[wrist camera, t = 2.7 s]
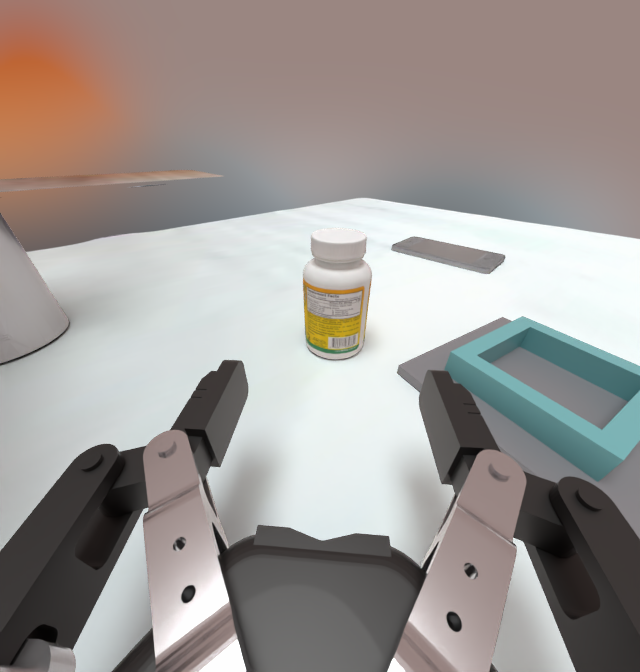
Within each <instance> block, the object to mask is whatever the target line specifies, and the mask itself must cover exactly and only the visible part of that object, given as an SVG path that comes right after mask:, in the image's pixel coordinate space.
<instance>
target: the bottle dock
mask: <svg viewBox="0 0 640 672" xmlns="http://www.w3.org/2000/svg"><path fill="white" fill-rule="evenodd" d="M427 370H446V371H448V372H449V374H450V376H451V378H452V380H453V382H454V383H459V384H462V385H463V386H464V387H465V388H466V389H467V390H468V391H469V392H470V393H471V395H472V397H473V399H474V401H475V403H476V406H477V407H478V409H479V410H480V412H481V415H482V416H483V418H484V420H485V422H486V424H487V426H488V428H489V430H490V432H491V434H492V436H493V438H494V440H495V442H496V443H497V445H498V447H499V449H500V451H501V452H502V453H504V454H506V455H507V456H509V457H511V458H512V459H513V460H514V461H515V462H516V463H517V464H518V465H519V466H520V467H521V468H522V470H523V471H525V472H527V473H529V474H532V475H535V476H538V477H541V478H544V479H547V480H549V481H552V482H555V483H558V482H559V480H561V479H562V478H564V477H568V476H571V477H577V478H581V479H583V480H586V481H588V482H590V483H592V484H593V485H595V486H597V487H598V488H599V489H601V490H602V491H603V492H604V493H605V494H607V495H608V496H609V497H610V499H611V500H612V501H613V502H614V503H615V505H616V506H617V508H618V509H619V510H620V512H621V513H622V515H623V516H624V517H625V519H626V520H627V522H628V523H629V525H630V526H631V527H632V529H633V530H634V532H635V533H636V535H637V536H638V537H639V539H640V366H638V365H636V364H633V363H631V362H629V361H626V360H624V359H622V358H619V357H617V356H615V355H612V354H610V353H608V352H605V351H603V350H601V349H598V348H596V347H594V346H591V345H589V344H587V343H584V342H582V341H580V340H577V339H575V338H573V337H570V336H568V335H565V334H563V333H561V332H558V331H556V330H554V329H551V328H549V327H547V326H544V325H542V324H540V323H537V322H535V321H533V320H530V319H528V318H526V317H523V316H522V317H520V318H518V319H516V320H514V321H510V320H508V319H506V318H504V317H502V318H500V319H497V320H495V321H493V322H491V323H489V324H487V325H485V326H482V327H480V328H478V329H476V330H474V331H472V332H469V333H467V334H465V335H463V336H461V337H459V338H457V339H454V340H452V341H450V342H448V343H446V344H444V345H442V346H439V347H437V348H435V349H433V350H431V351H429V352H426V353H424V354H422V355H420V356H418V357H416V358H414V359H411V360H409V361H407V362H405V363H403V364H401V365H399V367H398V371H397V373H398V374H399V375H400V376H401V377H403V378H404V379H405V380H406V381H407V382H409V383H410V384H411V385H412V386H413V387H415V388H416V389H417V390H418V391H419V392H421V388H422V385H423V382H424V378H425V375H426V372H427Z"/></svg>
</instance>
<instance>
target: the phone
mask: <svg viewBox="0 0 640 672" xmlns="http://www.w3.org/2000/svg"><path fill="white" fill-rule="evenodd" d="M391 250H392V251H396V252H401V253H404V254H407V255H412V256H415V257H419V258H423V259H427V260H431V261H435V262H439V263H443V264H447V265H451V266H455V267H459V268H463V269H467V270H471V271H475V272H479V273H483V274H490V272H491V271H493V270H494V268H495V267H496V266H497V265H498V264H501V263H503V262H504V259H505V255H502V254H498V253H493V252H488V251H483V250H478V249H473V248H469V247H464V246H459V245H454V244H449V243H444V242H439V241H435V240H430V239H425V238H420V237H410V238H408V239H406V240H403V241H401V242H398V243H396V244H393V245H392V249H391Z"/></svg>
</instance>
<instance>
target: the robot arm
mask: <svg viewBox="0 0 640 672" xmlns="http://www.w3.org/2000/svg"><path fill="white" fill-rule="evenodd" d="M68 324H69V320H68V318H67V316H66V315H65V313H64V311H63V310H62V308H61V307H60V305H59V304H58V302H57V301H56V299H55V297H54V296H53V294H52V293H51V291H50V290H49V288H48V286H47V285H46V283H45V281H44V280H43V278H42V277H41V275H40V274H39V272H38V271H37V269H36V267H35V266H34V264H33V263H32V261H31V260H30V258H29V257H28V255H27V253H26V252H25V250H24V249H23V247H22V246H21V244H20V243H19V241H18V239H17V238H16V236H15V235H14V233H13V232H12V230H11V229H10V227H9V225H8V224H7V222H6V221H5V219H4V218H3V216H2V215H1V213H0V363H3V362H6V361H9V360H12V359H15V358H17V357H20V356H23V355H25V354H27V353H30V352H32V351H34V350H36V349H38V348H40V347H42V346H44V345H46V344H48V343H49V342H51V341H52V340H54V339H55V338H57V337H58V336H59V335H60V334H61V333H63V332H64V331H65V329H66V328H67V327H68ZM247 396H248V383H247V378H246V374H245V369H244V365H243V362H242V361H237V360H224V361H223V362H222V363H221V365H220V367H219V369H218V370H217V371H211V372H210V373H208V374H207V375H206V376H205V377H204V378H202V379H201V381H200V383H199V384H198V386H197V387H196V391H194V392H193V394H192V396H191V399H189V400H188V402H187V404H186V405H185V407H184V408H183V410H182V412H181V413H180V415H179V417H178V418H177V420H176V421H175V423H174V425H173V426H172V428H171V429H170V430H169V431H166V432H163V433H161V434H159V435H158V436H156V437H155V438H154V439H152V440H151V441H150V442H149V444H148V445H147V446H144V447H139V448H135V449H131V450H126V451H122V452H119V451H118V449H117V448H116V447H115V446H114V445H111V444H101V445H97V446H95V447H92V448H90V449H88V450H86V451H85V452H83V453H82V454H80V455H79V456H78V457H77V458H76V459H75V460H74V461H73V462H72V463H71V464H70V466H69V467H68V468H67V469H66V471H65V472H64V473H63V474H62V475H61V477H60V478H59V479H58V480H57V482H56V483H55V484H54V485H53V487H52V488H51V489H50V490H49V492H48V493H47V494H46V495H45V497H44V498H43V499H42V500H41V502H40V503H39V504H38V505H37V507H36V508H35V509H34V510H33V512H32V513H31V514H30V515H29V516H28V518H27V519H26V520H25V521H24V523H23V524H22V525H21V526H20V528H19V529H18V530H17V531H16V533H15V534H14V535H13V536H12V538H11V539H10V540H9V541H8V543H7V544H6V545H5V546H4V548H3V549H2V550H1V551H0V672H75V668H76V660H75V655H74V653H73V651H72V650H73V648H74V646H75V644H76V642H77V640H78V638H79V636H80V634H81V632H82V630H83V628H84V626H85V624H86V622H87V620H88V618H89V616H90V614H91V612H92V610H93V608H94V606H95V604H96V602H97V600H98V598H99V596H100V594H101V592H102V590H103V588H104V586H105V584H106V582H107V580H108V578H109V576H110V574H111V572H112V570H113V568H114V566H115V564H116V562H117V560H118V558H119V556H120V554H121V552H122V550H123V548H124V546H125V544H126V542H127V540H128V538H129V536H130V534H131V532H132V530H133V528H134V526H135V524H136V522H137V520H138V519H139V517H140V515H141V513H142V511H143V509H145V508H148V507H149V509H148V512H147V513H145V514H144V517H143V528H144V539H145V550H146V561H147V572H148V583H149V594H150V604H151V615H152V626H153V628H152V629H151V630H150V631H149V632H148V633H147V634H146V635H145V636H144V637H143V638H142V639H141V640H140V642H139V643H138V644H137V645H136V646H135V647H134V648H133V649H132V650H131V651H130V652H129V653H128V655H127V656H126V657H125V658H124V659H123V660H122V661H121V662H120V663H119V664H118V665H117V666H116V667H115V669H114V670H113V671H112V672H498V671H497V670H496V669H495V667H494V666H493V664H492V663H491V662H492V658H493V653H494V649H495V645H496V640H497V636H498V632H499V627H500V623H501V619H502V614H503V610H504V606H505V601H506V597H507V593H508V588H509V584H510V580H511V575H512V571H513V567H514V562H515V558H516V551H517V549H516V545H515V544H514V543H513V537H514V538H516V539H519V540H521V541H523V542H524V544H525V546H526V549H527V551H528V554H529V556H530V559H531V561H532V564H533V566H534V569H535V571H536V574H537V576H538V579H539V581H540V584H541V586H542V589H543V591H544V593H545V596H546V598H547V601H548V603H549V606H550V608H551V611H552V613H553V616H554V618H555V621H556V623H557V626H558V628H559V631H560V633H561V636H562V638H563V641H564V643H565V645H566V648H567V650H568V653H569V655H570V658H571V660H572V663H573V665H574V668H575V670H576V672H640V539H639V537H638V536H637V535H636V533H635V532H634V530H633V529H632V527H631V526H630V525H629V523H628V522H627V520H626V519H625V517H624V516H623V515H622V513H621V512H620V510H619V509H618V508H617V506H616V505H615V503H614V502H613V501H612V500H611V499H610V497H609V496H608V495H607V494H605V493H604V492H603V491H602V490H601V489H599V488H598V487H597V486H595V485H593V484H592V483H590V482H588V481H586V480H583V479H581V478H577V477H571V476H568V477H564V478H562V479H561V480H559V482H558V483H555V482H552V481H549V480H547V479H544V478H541V477H538V476H535V475H532V474H529V473H527V472H525V471H523V470H522V468H521V467H520V466H519V465H518V464H517V463H516V462H515V461H514V460H513V459H512V458H511V457H509V456H507V455H506V454H504V453H502V452H501V451H500V449H499V447H498V445H497V443H496V442H495V440H494V438H493V436H492V434H491V432H490V430H489V428H488V426H487V424H486V422H485V420H484V418H483V416H482V415H481V412H480V410H479V409H478V407H477V406H476V403H475V401H474V399H473V397H472V395H471V393H470V392H469V391H468V390H467V389H466V388H465V387H464V386H463V385H462V384H459V383H454V382H453V380H452V378H451V376H450V374H449V372H448V371H446V370H427V372H426V375H425V378H424V382H423V385H422V388H421V392H420V396H419V407H420V411H421V414H422V418H423V421H424V425H425V428H426V432H427V435H428V438H429V442H430V445H431V449H432V452H433V456H434V459H435V463H436V466H437V470H438V473H439V476H440V480H441V483H442V484H449V485H453V489H454V492H455V494H454V496H453V498H452V500H451V502H450V505H449V507H448V509H447V511H446V513H445V516H444V518H443V520H442V522H441V525H440V527H439V529H438V531H437V533H436V536H435V538H434V540H433V542H432V544H431V546H430V548H429V550H428V552H427V554H426V556H425V558H424V560H423V562H422V564H421V567H420V566H419V565H418V564H417V563H415V562H414V561H413V560H412V559H411V558H410V557H408V556H407V555H405V554H404V553H402V552H401V551H399V550H397V549H395V548H393V547H391V546H390V540H389V536H381V535H369V534H357V533H356V534H351V535H347V536H342V537H338V538H334V539H329V540H325V541H321V540H318V539H315V538H313V537H310V536H308V535H306V534H303V533H301V532H298V531H296V530H294V529H291V528H287V527H275V526H263V525H258V527H257V531H256V535H252V536H249V537H247V538H244V539H242V540H240V541H238V542H236V543H235V544H233V545H232V546H230V547H229V544H228V541H227V538H226V536H225V533H224V530H223V528H222V525H221V522H220V519H219V516H218V513H217V509H216V506H215V503H214V499H213V496H212V493H211V489H210V486H209V483H208V479H207V477H206V475H207V473H208V471H209V468H210V466H212V467H220V466H221V463H222V461H223V458H224V456H225V453H226V451H227V448H228V446H229V443H230V440H231V438H232V435H233V433H234V430H235V428H236V425H237V423H238V420H239V417H240V415H241V412H242V410H243V407H244V405H245V402H246V399H247Z"/></svg>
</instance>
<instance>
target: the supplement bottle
mask: <svg viewBox="0 0 640 672" xmlns="http://www.w3.org/2000/svg"><path fill="white" fill-rule="evenodd" d="M366 240H367V237H366V235H365V234H364V233H363V232H360V231H357V230H353V229H346V228H327V229H321V230H317V231H315V232H313V233H312V235H311V252H312V255H313V256H314V257H315V258H313V259H311V260H310V261H309V262H308V263H307V264H306V266H305V267H304V271H303V291H304V312H305V335H306V343H307V346H308V348H309V349H310V350H311V351H312V352H313V353H315V354H316V355H318V356H321V357H324V358H327V359H344V358H348V357H351V356H353V355H355V354H356V353H358V352H359V351H360V349H361V348H362V346H363V343H364V337H365V329H366V320H367V311H368V303H369V295H370V286H371V278H372V272H371V269H370V267H369V265H368V264H367V263H366V262H365V261H364V260H362V258H363V257H364V254H365V253H366Z"/></svg>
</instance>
